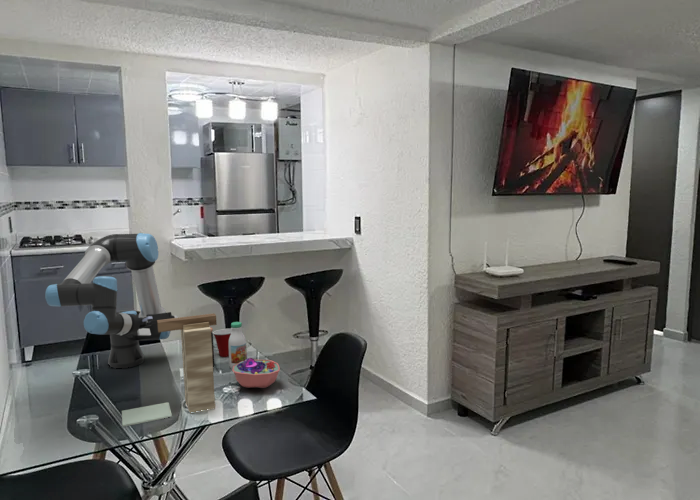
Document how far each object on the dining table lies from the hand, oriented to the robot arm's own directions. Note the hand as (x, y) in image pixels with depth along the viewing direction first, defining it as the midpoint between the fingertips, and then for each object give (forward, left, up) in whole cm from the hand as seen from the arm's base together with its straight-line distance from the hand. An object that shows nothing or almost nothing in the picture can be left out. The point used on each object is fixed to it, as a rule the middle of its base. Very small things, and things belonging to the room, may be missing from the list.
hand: (163, 325), depth 203 cm
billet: (+22, +7, +4) cm, 23 cm away
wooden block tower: (+22, +9, -26) cm, 35 cm away
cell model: (+15, +33, -26) cm, 44 cm away
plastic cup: (-28, +29, -26) cm, 48 cm away
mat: (+22, -9, -26) cm, 35 cm away
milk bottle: (-10, +31, -26) cm, 42 cm away
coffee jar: (-14, +16, -26) cm, 34 cm away
